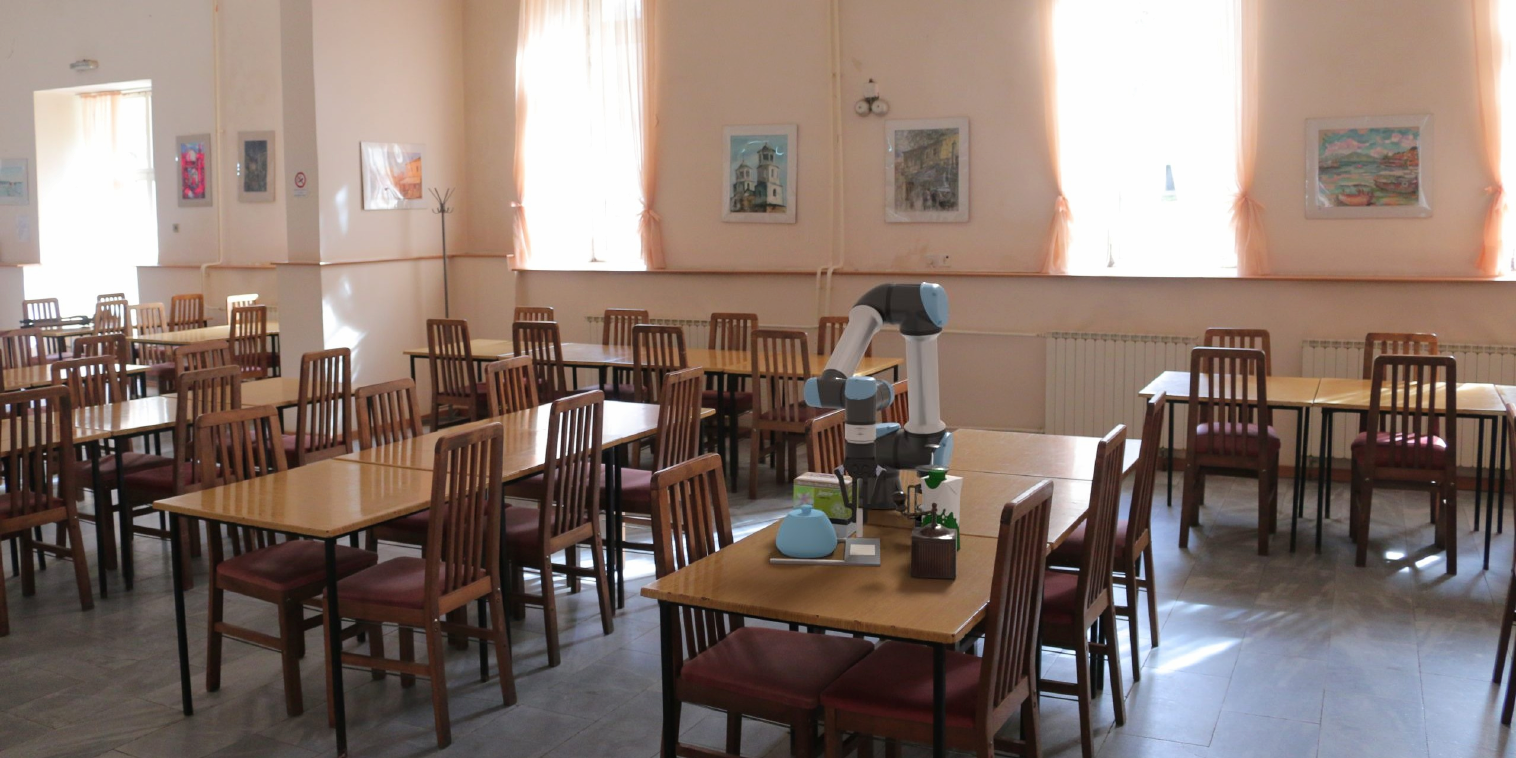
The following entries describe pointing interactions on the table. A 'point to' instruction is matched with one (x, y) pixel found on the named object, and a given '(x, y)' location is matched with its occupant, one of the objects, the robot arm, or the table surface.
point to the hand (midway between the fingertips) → (859, 535)
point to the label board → (847, 554)
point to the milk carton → (942, 499)
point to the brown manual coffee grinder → (930, 545)
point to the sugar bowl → (806, 534)
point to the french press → (921, 472)
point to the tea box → (826, 499)
